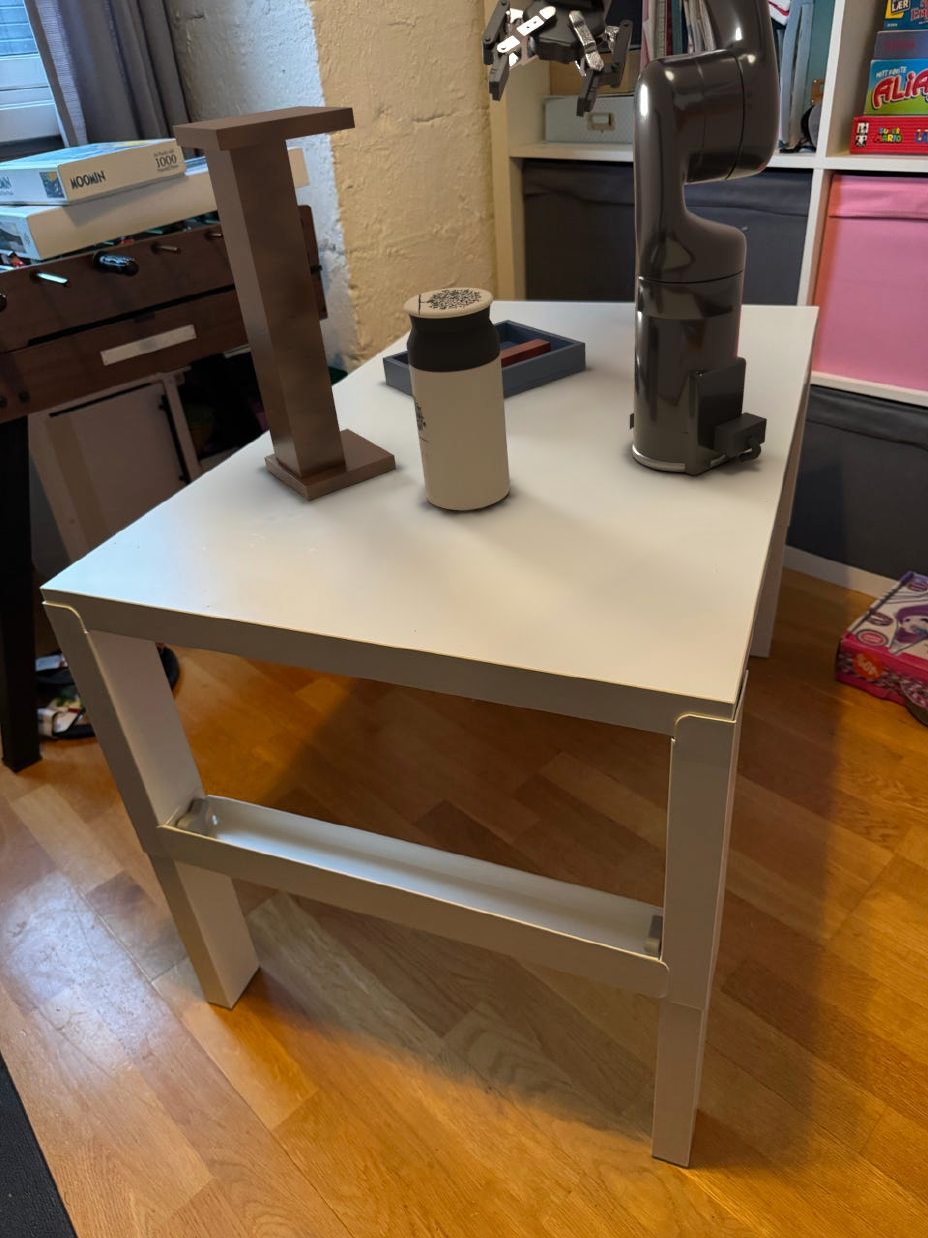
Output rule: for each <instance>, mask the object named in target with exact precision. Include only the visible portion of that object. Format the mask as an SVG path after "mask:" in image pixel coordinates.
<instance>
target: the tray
mask: <svg viewBox="0 0 928 1238" xmlns="http://www.w3.org/2000/svg"><path fill="white" fill-rule="evenodd" d="M493 325H494V326H495V328H496V330H497V331H498V333H499V342H500V351H502V350H505V349H508V348H511V347H515V346H518V345H521V344H524V343H527V342H530V341H533V340H536V339H541V340H544V341H548V342H550V348H551V352H549V353H546V354H543V355H540V356H537V357H534V358H531V359H528V360H525V361H522V362H519V363H516V364H513V365H510V366H507V367H504V368H501V370H502V383H503V397H504V399H506V398H509V397H511V396H514V395H517V394H521V393H523V392H526V391H528V390H531V389H534V388H537V387H539V386H542V385H546V384H549V383H551V382H554V381H557V380H559V379H563V378H565V377H568V376H571V375H574V374H576V373H579V372H582V371H585V370H586V369H587V365H586V363H587V362H586V361H587V359H586V357H587V356H586V342H584V341H580V340H577V339H573V338H570V337H566V336H564V335H560V334H557V333H553V332H549V331H548V330H543V329H539V328H537V327H533V326H530V325H527V324H524V323H521V322H517V321H513V320H511V319H505V320H502V321H499V322H496V323H493ZM381 360H382V365H383V373H384V378H385V384H386V385H388V386H390V387H392V388H395V389H397V390H400V391H401V392H404V393H406V394H408V395H410V396H412V397H413V391H412V383H411V376H410V368H409V361H408V353H407V350H404V351H401V352H397V353H395V354H391V355H388V356H385V357H382V358H381Z"/></svg>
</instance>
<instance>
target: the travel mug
mask: <svg viewBox="0 0 928 1238" xmlns="http://www.w3.org/2000/svg"><path fill="white" fill-rule="evenodd" d="M493 302H494V295H493V294H492V293H491V292H490V291H488V290H486V289H483V288H478V287H477V288H476V287H448V288H441V289H435V290H430V291H426V292H423V293H419V294H417V295H415V296H413V297H411V298H409V299H408V300H407V301H406V302H405V303H404V305H403V306H404V307H403V308H404V311H405V312H406V313H407V315H408V316H409V320H410V324H411V328H410V332H409V335H408V337H407V339H406V340H407V341H406V344H405V345H406V351H407V353H408V361H409V368H410V376H411V383H412V391H413V396H412V399H413V405H414V406H413V407H414V413H415V419H416V420H415V422H416V427H417V428H416V429H417V435H418V442H419V443H418V445H419V451H420V458H421V465H422V475H423V480H424V481H423V482H424V487H425V488H424V489H425V495H426V498H427V500H428V501H429V502H430V503H431V504H433V505H434V506H437V507H439V508H443V509H446V510H452V511H471V510H472V511H473V510H477V509H482V508H483V509H484V508H486V507H488V506H490V505H494V504H495V503H497V502H499V501H502V500H503V499H504V498H505V497H506V496H507V495H508V493H509V492H510V490H511V481H510V469H509V468H510V467H509V455H508V454H509V453H508V439H507V426H506V413H505V398H504V397H503V383H502V370H501V356H500V342H499V333H498V331H497V330H496V328H495V326H494V325H493V324H494V323H493V321H492V320H491V307H492V306H491V305H492V304H493Z"/></svg>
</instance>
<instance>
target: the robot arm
mask: <svg viewBox="0 0 928 1238" xmlns="http://www.w3.org/2000/svg"><path fill="white" fill-rule="evenodd" d="M701 2H702V5H703V7H704V11H705V12H706V16H707V20H708V24H709V29H710V32H711V37H712V41H713V48H714V49H713V50H712V49H711V50H705V51H696V52H689V53H680V54H674V55H673V54H672V55H666V56H660V57H656V58H653V59H651V60H649V61H648V62H647V63H645V65H644V66H643V67H642V69H641V71H640V72H639V75H638V76H637V77H638V78H637V81H636V84H635V87H634V93H633V100H632V114H631V115H632V116H631V122H632V123H631V126H632V127H631V128H632V129H631V133H632V136H631V137H632V138H631V139H632V140H631V141H632V161H633V162H632V163H633V184H634V185H633V186H634V188H633V189H634V239H635V254H636V255H635V271H636V272H635V308H634V309H635V310H634V313H635V315H634V367H633V369H634V372H633V373H634V377H633V379H634V380H633V383H634V384H633V412H632V413H631V414H629V430H632V429H633V440H632V449H631V451H632V456H633V458H634V459H635V460H636V461H637V462H638V463H640V464H641V465H644V466H646V467H649V468H651V469H655V470H658V471H659V470H660V471H665V472H674V473H675V472H679V473H686V474H689V475H692V476H697V475H698V474H701V473H703V472H706V471H708V470H710V469H712V468H715V467H716V466H719V465H721V464H723V463H725V462H728V461H730V460H732V459H734V458H737V457H738V460H739V462H741V463H745V462H749V461H754V460H756V459H758V458H759V457H760V455H761V453H762V446H761V445H762V444H764V443H766V433H767V425H768V419H767V418H765V417H762V416H759V415H756V414H753V413H750V412H748V411H744V412H743V407H744V396H745V395H744V394H745V383H746V373H747V372H746V371H747V360H746V358H745V357H742V356H738V355H739V344H740V343H739V342H740V333H741V331H740V330H741V318H742V309H743V308H742V306H743V295H744V284H745V283H744V282H745V273H746V272H745V271H746V261H747V260H746V259H747V239H746V238H747V237H746V235H745V234H744V232H743V231H741V230H740V229H739V228H737V227H735V226H732V225H729V224H726V223H723V222H718V221H714V220H709V219H706V218H704V217H701V216H698V215H697V214H695V213H693V212H691V211H690V210H689V208H687V205H686V199H685V186H691V185H692V186H693V185H701V184H709V183H716V182H722V181H731V180H738V179H739V180H740V179H745V178H748V177H752V176H756V175H758V174H760V173H761V172H762V171H764V170H765V169H766V168H767V166H768V165H769V163H770V162H771V160H772V158H773V156H774V153H775V151H776V146H777V143H778V139H779V133H780V121H781V89H780V76H779V68H778V61H777V59H778V58H777V51H776V44H775V38H774V31H773V30H774V29H773V24H772V23H773V22H772V16H771V11H770V4H769V3H770V2H769V0H701ZM611 4H612V0H532V1H531V3H530V4H528V6H526V8H524V10H522V9H517V8H513V7H511V1H510V0H498V1H497V3H496V6H495V8H494V10H493V11H492V15H491V16H490V19H489V21H488V23H487V26H486V28H485V30H484V33H483V34H482V37H481V54H482V55H481V56H482V57H481V59H482V64H484V65H485V66H491V65H492V66H491V68H490V70H489V74H488V75H487V76H488V77H487V83H488V85H487V86H488V94H490V95H491V99H492V101H494V102H495V101H496V102H501V101H502V97H503V94H504V91H505V88H506V86H507V83H508V80H509V77H510V72H511V71H512V70H513V69H515V68H517V67H518V66H520V65H521V66H522V67H525V66H527V65H529V64H530V63H532V62H533V61H535V60H536V59H538V60H539V61H545V62H549V61H550V62H551V61H555V62H557V63H559V64H563V65H567V66H569V65H570V63H574V65H575V67H576V69H577V71H578V73H579V75H580V77H582V78H583V82H582V85H581V87H580V90H579V94H578V97H577V101H576V114H575V116H576V117H579V118H584V117H585V115H586V113H591V112H592V111H593V110H594V107H595V104H596V100H597V98H598V94H599V91H600V89H602V87H604V86H608V87H609V88H611V89H613V90H614V89H615V90H616V89H619V88H620V87H621V86H622V82H623V77H624V75H625V74H624V73H625V70H626V65H627V61H628V57H629V52H630V47H631V42H632V41H631V40H632V33H633V26H634V24H633V21H632V20H630V19H623V20H621V21H620V24H619V26H618V25H617V26H616V25H608V24H606V19H607V16H608V12H609V10H610V6H611ZM514 29H515V30H514ZM513 31H514V32H513ZM512 32H513V34H512ZM506 36H508V38H506ZM509 36H510V37H509ZM505 38H506V39H505ZM604 42H607V44H608V49H609V50H610V51H611V54H612V57H611V61H610V62H604V60H603V59H602V57H601V55H600V53H599V51H598V47H599V46H601V45H602V44H603V43H604ZM528 44H529V45H528ZM748 450H750V451H748Z"/></svg>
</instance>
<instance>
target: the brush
mask: <svg viewBox="0 0 928 1238" xmlns="http://www.w3.org/2000/svg"><path fill="white" fill-rule="evenodd" d="M549 352H551V348H550V342H548V341H544V340H541V339H536V340H533V341H530V342H527V343H524V344H521V345H518V346H515V347H511V348H508V349H505V350H502V351H500V356H501V368H504V367H507V366H510V365H513V364H516V363H519V362H522V361H525V360H528V359H531V358H534V357H537V356H540V355H543V354H546V353H549Z"/></svg>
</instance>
